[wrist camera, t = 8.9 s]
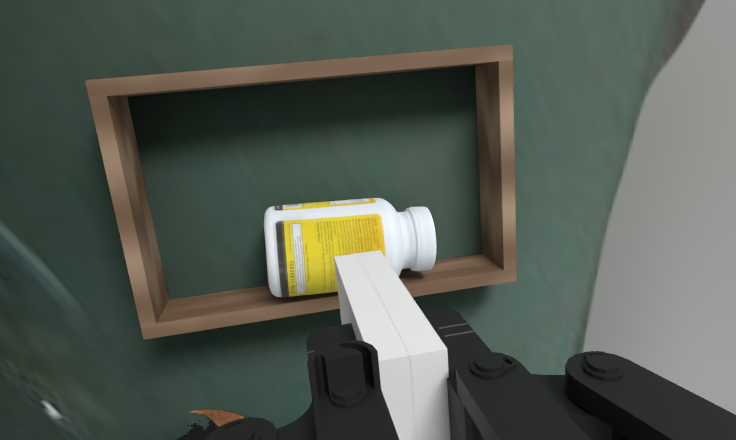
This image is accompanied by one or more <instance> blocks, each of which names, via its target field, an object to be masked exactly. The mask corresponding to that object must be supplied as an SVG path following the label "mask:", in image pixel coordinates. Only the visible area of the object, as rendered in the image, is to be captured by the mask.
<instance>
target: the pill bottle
mask: <svg viewBox="0 0 736 440" xmlns="http://www.w3.org/2000/svg"><path fill="white" fill-rule="evenodd" d="M264 233H265V245H266V258H267V272H268V283H269V287H270V290H271V293H272V294H273V295H274V296H276V297H291V296H300V295H310V294H320V293H330V292H338V288H337V280H336V271H335V262H334V257H336V256H343V255H350V254H357V253H364V252H371V251H378V250H380V251H381V252H382V254H383V255H384V256H385V258H386V259H387V261H388V262H389V264H390V265H391V267H392V268H393V270H394V271H395V273H396V274H397V276H398V277H399V275H400V273H401V270H402V269H406V268H410V269H411V270H412V271H422V270H430V269H432V268H433V266H434V263H435V258H436V235H435V227H434V222H433V219H432V216H431V213H430V211H429V210H428V208H426V207H410V208H406V209H405V211H404V212H396V210H395V209H394V207H393V206H392V205H391V204H390V203H389V202H387V201H386V200H384V199H381V198H367V199H354V200H341V201H329V202H316V203H303V204H290V205H278V206H272V207H270V208H268V209H267V210H266V212H265V217H264Z"/></svg>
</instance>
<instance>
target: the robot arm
mask: <svg viewBox="0 0 736 440" xmlns="http://www.w3.org/2000/svg"><path fill="white" fill-rule="evenodd" d="M334 262H335V271H336V280H337V288H338V297H339V305H340V314H341V323H342V325H336V326H330V327H324V328H318V329H313V330H312V332H311V333H310V335H309V336H308V338H307V339H306V343H307V352H308V362H307V365H308V372H309V379H310V386H311V393H312V403H311V405H310V407H309V409H308V410H307V411H306V412H305V413H304V415H302V416H301V417H300V418H298V419H297V420H296V421H294V422H292V423H290V424H288V425H286V426H284V427H282V428H279V429H276V428H275V426H274V425H273V423H271V422H269V421H267V420H265V419H263V418H253V417H249V418H242V419H236V420H234V421H231V422H228V423H226V424H224V425H221V426H220V427H218V428H217V429H216V430H214V431H213V432H211V433H210V434H209V435H208V436H207V437H206V439H205V440H736V415H735V414H733V413H731V412H729V411H727V410H725V409H723V408H721V407H719V406H717V405H715V404H713V403H711V402H709V401H708V400H706V399H704V398H702V397H700V396H698V395H696V394H694V393H692V392H690V391H688V390H686V389H684V388H682V387H680V386H678V385H676V384H674V383H673V382H671V381H668V380H667V379H664V378H663V377H661V376H659V375H657V374H655V373H653V372H651V371H649V370H647V369H645V368H643V367H641V366H639V365H637V364H635V363H633V362H632V361H630V360H628V359H625V358H623V357H620V356H617V355H614V354H609V353H605V352H599V351H595V352H594V351H591V352H584V353H580V354H576V355H574V356H572V357H571V358H569V359H568V361H567V363H566V365H565V375H536V374H530V373H529V372H528V371H527V369H526V368H525V367H524V366H523V365H522V364H521V363H520V362H518V361H517V360H516V359H514V358H513V357H510V356H508V355H505V354H502V353H495V352H491V350H490V349H489V348H488V347H487V346H486V345H485V343H484V342H483V341H482V340H481V339H480V337H479V336H478V335H477V334H476V333H475V332H473V329H472V328H471V327H470V326H469V324H467V322H466V321H465V320H464V319H463V317H462V316H461V315H460V314H459V313H458V312H456V311H454V310H452V309H449V308H447V307H445V306H442V307H436V308H430V309H424V310H421V309H420V308H419V307H418V305H417V304H416V302H415V301H414V299H413V298H412V296H411V295H410V293H409V292H408V290H407V289H406V287H405V286H404V284H403V283H402V281H401V280H400V279H399V277H398V276H397V274H396V273H395V271H394V270H393V268H392V267H391V265H390V264H389V262H388V261H387V259H386V258H385V256H384V255H383V254H382V252H381V251H380V250H378V251H371V252H364V253H357V254H350V255H343V256H336V257H334Z"/></svg>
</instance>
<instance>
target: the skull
mask: <svg viewBox="0 0 736 440" xmlns="http://www.w3.org/2000/svg"><path fill="white" fill-rule="evenodd" d="M191 413H197V414H201V415H205V416H206V417H208V419H210V420H211V421H212V422H211V421H209V426H208V425H207V426H208V427H207V428H206V430H204V428H203V426H200V425H199V426H198V425H197V424H196V423H194V424H193V425H191V427H194V428H193V429H191V430H190V431H189V432H187V433H188V435H184V436H182V437H180V438H179V439H177V440H205V439H206V437H207V436H208V435H209V434H210V433H211V432H213V431H214V430H216V429H217V428H218V427H220V426H221V425H224V424H226V423H228V422H231V421H234V420H236V419H242V418H244V417H243V416H241V415H240V416H239V415H238V414H237V413H231V412H228V411H223V410H212V409H211V410H199V411H198V410H196V411H191ZM206 414H208V415H206ZM199 421H200V420H199ZM200 422H201V421H200ZM215 425H216V427H215ZM188 426H189V425H188ZM194 429H195V430H194Z"/></svg>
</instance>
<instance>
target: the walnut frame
mask: <svg viewBox="0 0 736 440" xmlns="http://www.w3.org/2000/svg"><path fill="white" fill-rule="evenodd" d="M464 66H475V76H476V104H477V132H478V159H479V187H480V215H481V242H482V254H476V255H469V256H462V257H455V258H449V259H442V260H435V263H434V266H433V268H432V269H430V270H422V271H412V270H411V269H410V268H406V269H402V270H401V273H400V275H399V279H400V280H401V281H402V283H403V284H404V286H405V287H406V289H407V290H408V292H409V293H410V295H411V296H412V297H416V296H423V295H429V294H435V293H442V292H448V291H454V290H461V289H467V288H473V287H480V286H486V285H492V284H498V283H505V282H511V281H517V271H516V215H515V160H514V104H513V48H512V44H511V45H500V46H488V47H476V48H464V49H452V50H440V51H428V52H416V53H404V54H392V55H381V56H369V57H357V58H345V59H333V60H321V61H309V62H297V63H285V64H274V65H262V66H250V67H238V68H226V69H214V70H202V71H190V72H178V73H166V74H155V75H143V76H131V77H119V78H107V79H95V80H85V83H86V87H87V92H88V96H89V100H90V105H91V109H92V114H93V118H94V122H95V127H96V131H97V136H98V140H99V145H100V149H101V153H102V158H103V162H104V167H105V171H106V176H107V180H108V184H109V189H110V193H111V198H112V202H113V207H114V211H115V215H116V220H117V224H118V229H119V233H120V238H121V242H122V246H123V251H124V255H125V260H126V264H127V269H128V273H129V277H130V282H131V286H132V291H133V295H134V300H135V304H136V308H137V313H138V317H139V322H140V326H141V331H142V335H143V339H144V340H145V339H151V338H158V337H164V336H170V335H176V334H183V333H189V332H195V331H202V330H208V329H214V328H221V327H227V326H233V325H240V324H246V323H252V322H259V321H265V320H271V319H278V318H284V317H290V316H296V315H303V314H309V313H315V312H322V311H328V310H334V309H340V305H339V297H338V292H330V293H320V294H310V295H300V296H291V297H276V296H274V295H273V294H272V293H271V290H270V287H269V285H267V286H260V287H253V288H246V289H240V290H233V291H226V292H219V293H213V294H206V295H199V296H192V297H186V298H179V299H172V300H169V297H168V292H167V287H166V282H165V277H164V272H163V268H162V263H161V258H160V253H159V248H158V243H157V239H156V234H155V229H154V224H153V219H152V214H151V210H150V205H149V200H148V195H147V190H146V186H145V181H144V176H143V171H142V166H141V161H140V157H139V152H138V147H137V142H136V137H135V132H134V128H133V123H132V118H131V113H130V108H129V103H128V99H127V97H129V96H140V95H151V94H162V93H173V92H185V91H196V90H207V89H218V88H229V87H240V86H252V85H263V84H274V83H285V82H296V81H307V80H319V79H330V78H341V77H352V76H363V75H374V74H385V73H397V72H408V71H419V70H430V69H441V68H452V67H464Z"/></svg>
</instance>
